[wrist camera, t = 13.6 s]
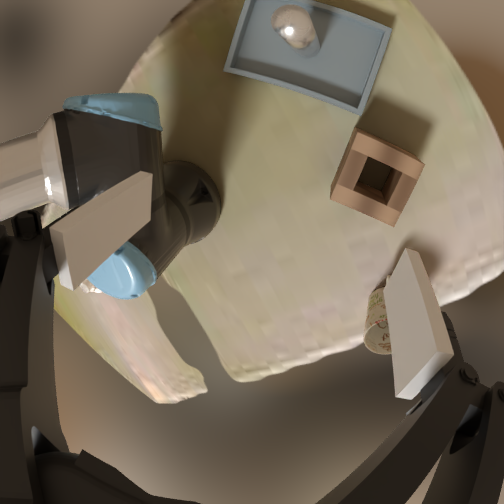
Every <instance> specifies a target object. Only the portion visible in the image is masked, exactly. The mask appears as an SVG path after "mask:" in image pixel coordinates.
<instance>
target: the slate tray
mask: <svg viewBox="0 0 504 504" xmlns="http://www.w3.org/2000/svg"><path fill="white" fill-rule="evenodd" d="M290 4H291V5H297V6H300V7H302V8H304V9H305V10H306V11H307V12H308V14H309V15H310V18H311V21H312V23H313V26H314V29H315V32H316V34H317V37H318V40H319V43H320V51H319V53H318V54H317V55H316V56H314V57H312V58H304V57H302V56H300V55H299V54H297V53H296V51H295V50H294V49H293V48H292V47H291V46H289V45H288V44H287V43H286V42H285V41H284V40H283V39H282V38H281V37H280V36H279V35H278V34H277V33H276V32H275V31H274V30H273V28H272V25H271V17H272V14H273V13H274V12H275V10H276V9H278V8H279V7H281V6H284V5H290ZM391 31H392V29H391V28H389V27H387V26H384V25H382V24H380V23H377V22H375V21H372V20H370V19H367V18H365V17H362V16H360V15H357V14H354V13H351V12H349V11H346V10H343V9H340V8H337V7H334V6H330V5H327V4H324V3H320V2H317V1H313V0H245V3H244V5H243V8H242V11H241V14H240V17H239V21H238V24H237V27H236V30H235V33H234V36H233V40H232V43H231V46H230V49H229V53H228V56H227V59H226V63H225V66H224V70H223V71H224V72H229V73H233V74H237V75H241V76H245V77H249V78H253V79H256V80H260V81H264V82H267V83H270V84H274V85H277V86H280V87H284V88H287V89H290V90H293V91H296V92H299V93H302V94H305V95H308V96H311V97H314V98H316V99H319V100H322V101H324V102H327V103H330V104H332V105H335V106H337V107H340V108H343V109H345V110H347V111H350V112H352V113H355V114H357V115H359V116H361V115H362V113H363V110H364V107H365V105H366V102H367V99H368V97H369V94H370V91H371V89H372V86H373V83H374V80H375V78H376V75H377V72H378V69H379V67H380V64H381V61H382V58H383V55H384V52H385V49H386V46H387V43H388V40H389V37H390V34H391Z"/></svg>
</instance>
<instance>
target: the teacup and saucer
mask: <svg viewBox="0 0 504 504" xmlns="http://www.w3.org/2000/svg"><path fill="white" fill-rule="evenodd" d="M80 287H81V289H82V290H83V291H84V292H85V293H89V291H91V292H96V293H101V292H102V291H101V290H99V289H96V287H95V288H93V287H94V285H93V284H92V283H91V282H90V281H89V280H88V279H85V280H84V281H83V282H82V283H81V284H80Z"/></svg>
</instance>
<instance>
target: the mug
mask: <svg viewBox="0 0 504 504" xmlns="http://www.w3.org/2000/svg"><path fill="white" fill-rule="evenodd" d="M390 277H391V275H388V276H387V279H386V284H387V282H388V281H389V279H390ZM384 288H385V287H382V288H379V289H377V290H375V291H374V292H373V293H372V294H371V295H370V297H369V300H368V308H367V316H366V323H365V330H364V343H365V345H366V347H367V348H368V349H369V350H371V351H372V352H375V353H379V354H391V353H392V350H391V342H390V334H389V326H388V319H387V312H386V306H385V299H384V293H383V290H384Z"/></svg>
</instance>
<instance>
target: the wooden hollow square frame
mask: <svg viewBox="0 0 504 504" xmlns="http://www.w3.org/2000/svg"><path fill="white" fill-rule="evenodd" d="M368 156H369V157H371V158H373V159H375V160H378V161H380V162H382V163H384V164H386V165H388V166H390V167H392V169H391V171H390V174H389V176H388V178H387V180H386V182H385V185H384V187H383V189H382V191H379V190H377V189H375V188H372V187H370V186H368V185H366V184H363V183H361V182H359V181H358V178H359V176H360V174H361V171H362V169H363V167H364V164H365V162H366V160H367V157H368ZM424 166H425V164H424V163H423V162H421V161H420V160H419V159H418V158H417V157H416V156H415V155H413V154H411V153H409V152H407V151H406V150H404V149H402V148H400V147H398V146H396V145H394V144H391V143H389V142H387V141H385V140H383V139H381V138H379V137H377V136H375V135H372V134H370V133H368V132H366V131H363V130H361V129H359V128H356V127H354V130H353V132H352V135H351V137H350V140H349V143H348V145H347V148H346V150H345V153H344V155H343V158H342V160H341V162H340V165H339V167H338V170H337V172H336V175H335V177H334V180H333V182H332V184H331V192H330V199H331V200H333V201H336V202H338V203H341V204H343V205H345V206H348V207H350V208H352V209H355V210H357V211H359V212H362V213H364V214H366V215H368V216H371V217H373V218H375V219H377V220H380V221H382V222H384V223H386V224H388V225H391V226H393V227H394V226H395V224H396V222H397V220H398V218H399V216H400V214H401V213H402V211H403V209H404V207H405V205H406V203H407V201H408V199H409V197H410V195H411V193H412V191H413V189H414V187H415V185H416V183H417V181H418V179H419V176H420V174H421V172H422V170H423V168H424Z"/></svg>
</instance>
